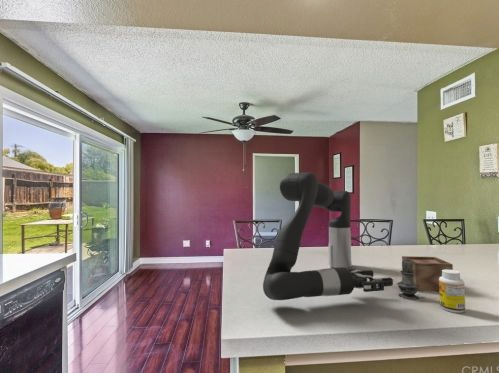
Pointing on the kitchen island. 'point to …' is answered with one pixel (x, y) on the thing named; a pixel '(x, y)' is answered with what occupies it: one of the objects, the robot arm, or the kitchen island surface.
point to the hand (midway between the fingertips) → (381, 277)
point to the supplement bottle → (452, 291)
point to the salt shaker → (407, 281)
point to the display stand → (428, 271)
